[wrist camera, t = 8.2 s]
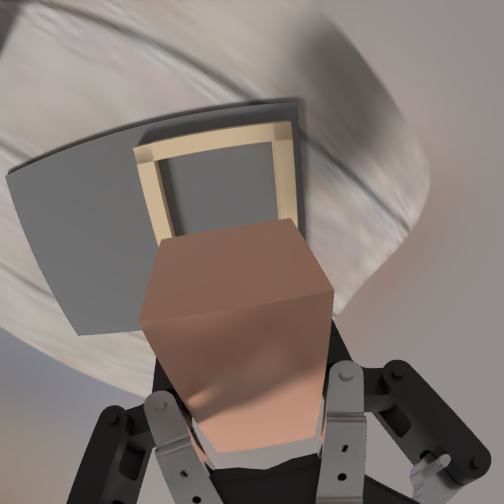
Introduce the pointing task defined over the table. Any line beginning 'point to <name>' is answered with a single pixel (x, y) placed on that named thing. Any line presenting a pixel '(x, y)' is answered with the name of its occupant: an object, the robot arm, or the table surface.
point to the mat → (152, 202)
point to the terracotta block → (242, 331)
